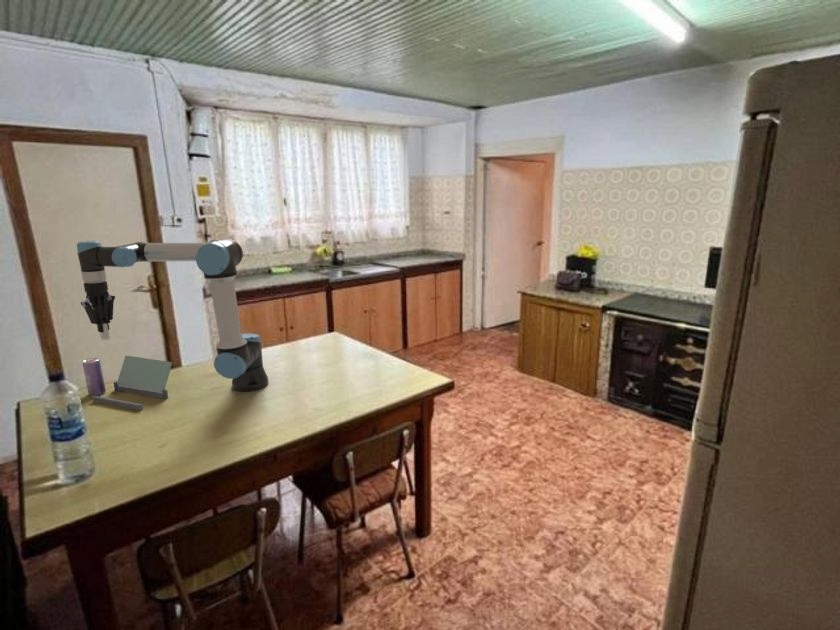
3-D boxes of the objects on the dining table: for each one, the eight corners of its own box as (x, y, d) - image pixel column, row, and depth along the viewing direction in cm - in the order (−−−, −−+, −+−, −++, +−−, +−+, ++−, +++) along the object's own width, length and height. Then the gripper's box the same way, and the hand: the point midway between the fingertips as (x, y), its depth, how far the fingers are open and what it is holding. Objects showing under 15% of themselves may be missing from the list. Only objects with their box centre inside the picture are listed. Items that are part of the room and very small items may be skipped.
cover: (162, 392, 186) (164, 392, 187) (170, 361, 189) (172, 362, 190) (116, 384, 193) (118, 384, 194) (125, 355, 196) (127, 355, 197)
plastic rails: (168, 397, 188) (167, 389, 187) (143, 411, 177) (142, 402, 176) (117, 389, 195) (116, 381, 194) (90, 401, 184) (89, 393, 183)
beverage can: (109, 391, 192) (103, 358, 188) (95, 397, 187) (88, 363, 183) (99, 389, 194) (92, 356, 190) (85, 395, 189) (78, 361, 185)
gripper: (102, 277, 184) (112, 333, 190) (71, 283, 172) (82, 343, 178) (117, 278, 182) (126, 335, 188) (86, 285, 170) (97, 345, 176)
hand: (105, 338), depth 183 cm, fingers closed
